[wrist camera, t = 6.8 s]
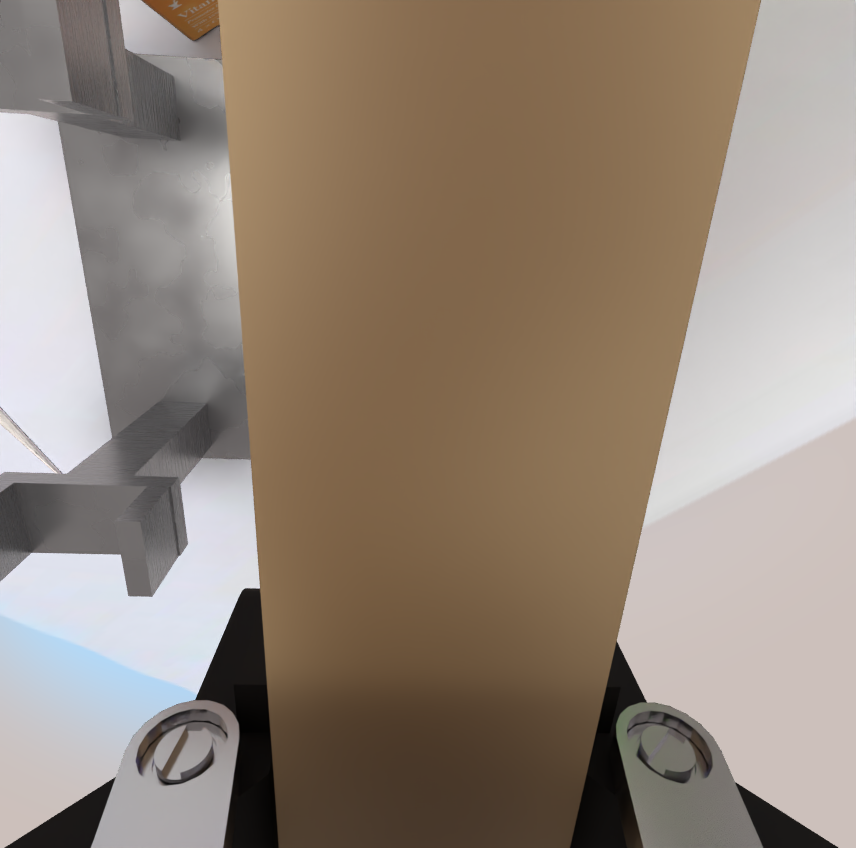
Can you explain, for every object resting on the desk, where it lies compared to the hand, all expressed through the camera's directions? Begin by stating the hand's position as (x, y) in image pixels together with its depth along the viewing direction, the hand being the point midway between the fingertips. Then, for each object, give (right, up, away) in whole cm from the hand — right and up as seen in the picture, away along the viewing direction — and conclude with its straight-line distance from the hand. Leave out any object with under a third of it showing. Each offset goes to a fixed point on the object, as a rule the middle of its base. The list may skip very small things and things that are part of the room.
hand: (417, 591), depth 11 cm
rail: (0, -1, -1) cm, 1 cm away
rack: (-13, +11, +17) cm, 24 cm away
